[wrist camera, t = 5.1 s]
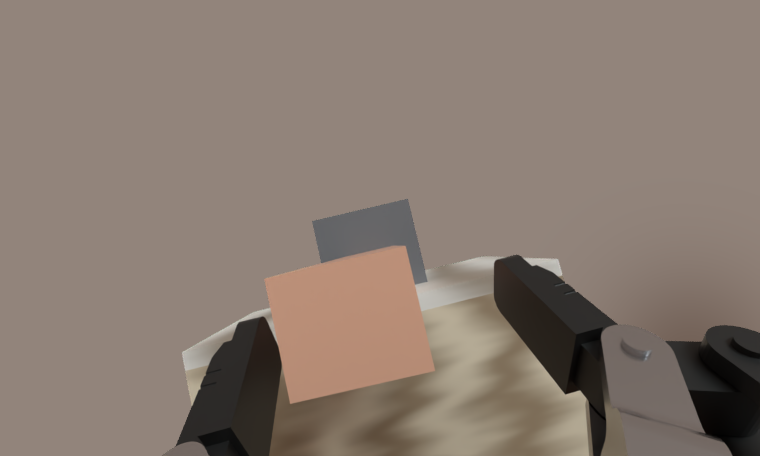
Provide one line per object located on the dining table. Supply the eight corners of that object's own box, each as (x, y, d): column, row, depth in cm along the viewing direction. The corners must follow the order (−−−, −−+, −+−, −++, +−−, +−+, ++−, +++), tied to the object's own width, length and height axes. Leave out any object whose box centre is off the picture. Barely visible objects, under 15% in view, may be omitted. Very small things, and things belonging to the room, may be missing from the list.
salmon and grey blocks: (343, 291, 27) (328, 226, 27) (418, 273, 27) (403, 209, 27) (217, 420, 7) (171, 175, 7) (508, 354, 7) (446, 110, 7)
